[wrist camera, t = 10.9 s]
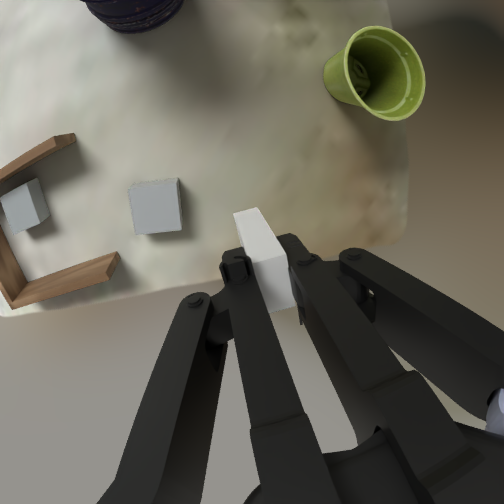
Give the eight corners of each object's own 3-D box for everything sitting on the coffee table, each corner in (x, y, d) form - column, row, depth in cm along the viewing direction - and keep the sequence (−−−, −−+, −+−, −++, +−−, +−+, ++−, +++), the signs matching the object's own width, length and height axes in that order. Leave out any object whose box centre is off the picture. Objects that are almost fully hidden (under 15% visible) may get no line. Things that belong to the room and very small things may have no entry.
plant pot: (392, 89, 28) (438, 89, 21) (343, 132, 30) (386, 140, 23) (346, 30, 25) (387, 11, 17) (291, 70, 26) (322, 56, 19)
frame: (-18, 189, 24) (-40, 200, 20) (73, 132, 25) (53, 136, 21) (26, 289, 32) (12, 309, 27) (119, 258, 32) (109, 279, 28)
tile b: (134, 182, 29) (128, 189, 27) (178, 177, 30) (176, 182, 27) (140, 225, 31) (135, 235, 29) (183, 220, 32) (181, 230, 29)
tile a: (12, 190, 26) (-1, 197, 23) (38, 177, 26) (26, 182, 24) (24, 226, 28) (13, 235, 26) (51, 214, 29) (40, 223, 26)
